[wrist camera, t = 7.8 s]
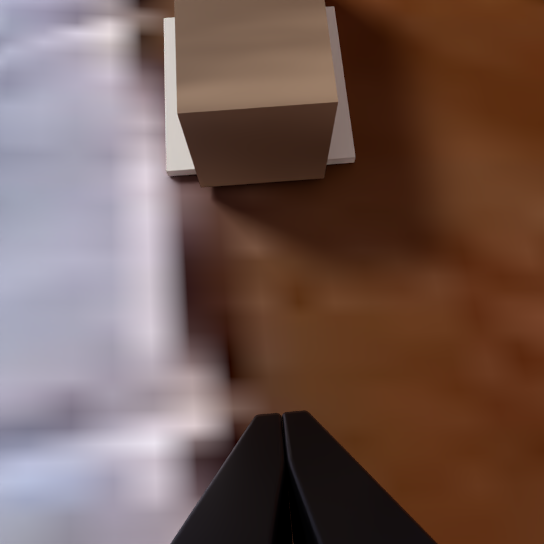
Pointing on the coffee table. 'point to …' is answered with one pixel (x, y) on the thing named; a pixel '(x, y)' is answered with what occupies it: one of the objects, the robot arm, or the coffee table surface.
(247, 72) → the cardboard box
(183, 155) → the felt mat
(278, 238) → the coffee table surface
